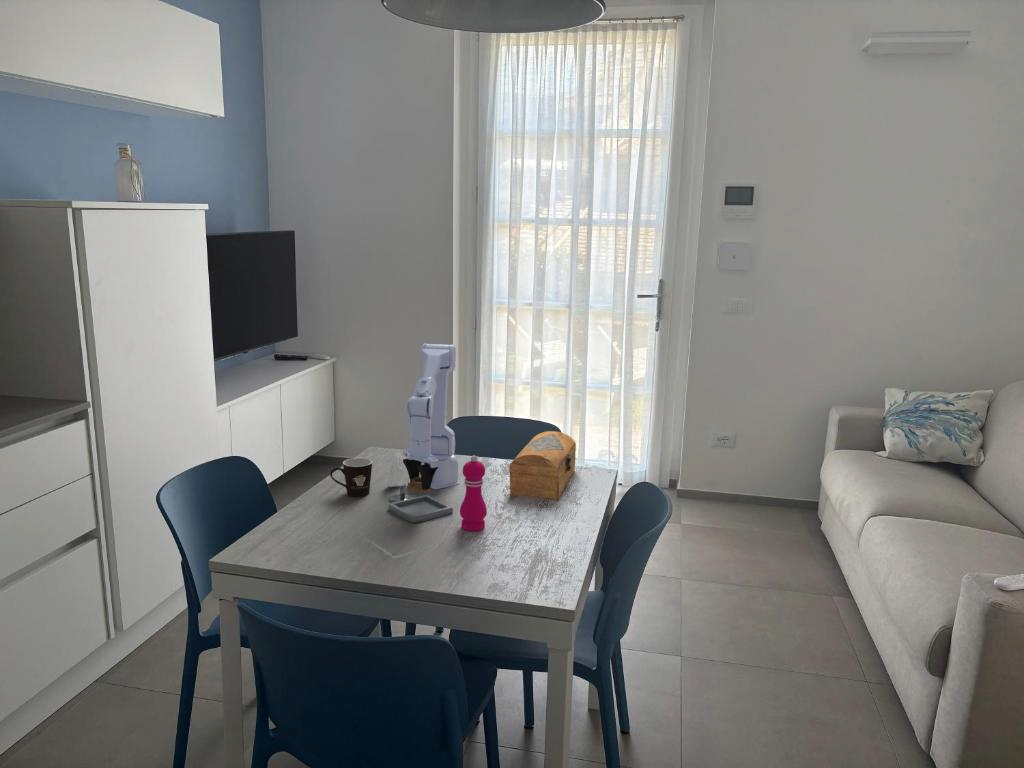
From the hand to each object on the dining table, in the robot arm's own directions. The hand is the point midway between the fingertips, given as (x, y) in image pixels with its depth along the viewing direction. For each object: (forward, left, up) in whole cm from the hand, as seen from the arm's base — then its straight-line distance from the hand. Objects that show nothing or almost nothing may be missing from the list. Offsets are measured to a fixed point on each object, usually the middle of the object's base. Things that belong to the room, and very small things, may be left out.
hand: (420, 486), depth 221 cm
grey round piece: (-1, -11, -8) cm, 13 cm away
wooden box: (-45, +2, -8) cm, 46 cm away
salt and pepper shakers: (-8, -21, -8) cm, 23 cm away
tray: (0, 0, -8) cm, 8 cm away
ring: (0, 0, -1) cm, 1 cm away
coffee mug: (+8, -24, -8) cm, 26 cm away
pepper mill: (-5, +18, -8) cm, 20 cm away
